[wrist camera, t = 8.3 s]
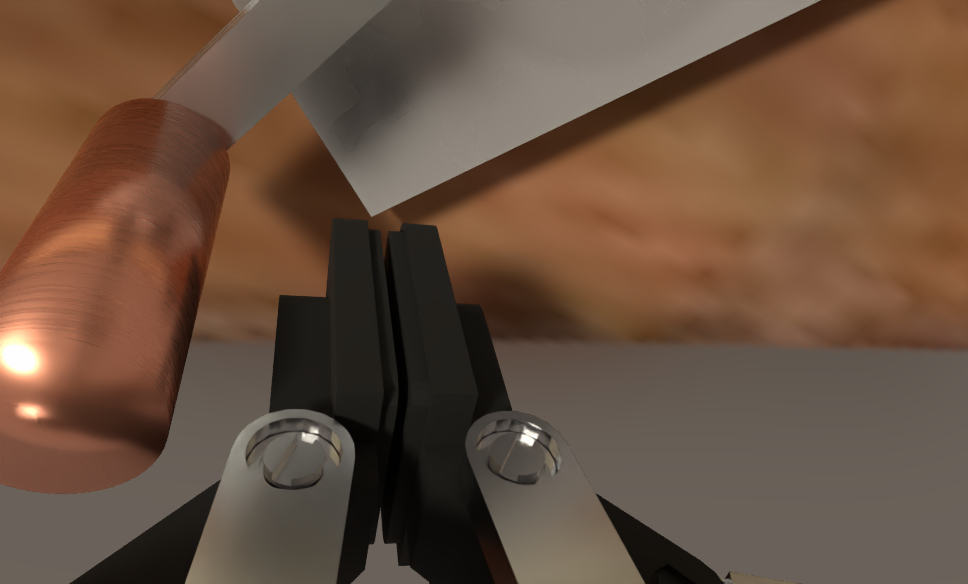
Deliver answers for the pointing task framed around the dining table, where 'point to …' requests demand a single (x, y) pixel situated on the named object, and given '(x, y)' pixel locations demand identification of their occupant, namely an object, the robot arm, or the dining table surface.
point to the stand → (496, 77)
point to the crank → (138, 253)
